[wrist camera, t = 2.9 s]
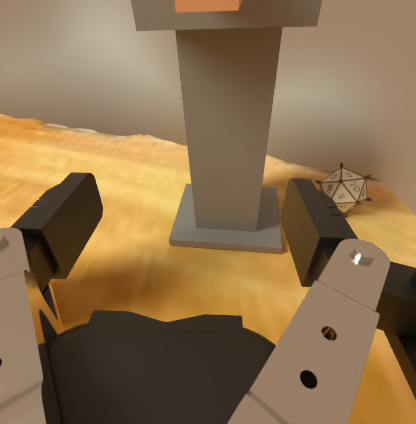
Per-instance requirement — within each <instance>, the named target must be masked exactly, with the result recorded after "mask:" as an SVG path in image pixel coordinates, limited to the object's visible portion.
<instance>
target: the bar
mask: <svg viewBox="0 0 416 424" xmlns="http://www.w3.org/2000/svg"><path fill="white" fill-rule="evenodd" d="M241 1H242V0H175V10H176V13H180V12H209V11H238V10H239V7H240V4H241Z"/></svg>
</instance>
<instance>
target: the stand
mask: <svg viewBox="0 0 416 424" xmlns="http://www.w3.org/2000/svg"><path fill="white" fill-rule="evenodd" d="M321 3H322V0H242V1H241V4H240V7H239V10H238V11H209V12H180V13H176V10H175V0H131V4H132V9H133V14H134V20H135V25H136V30H137V31H150V30H175V31H176V40H177V50H178V60H179V69H180V79H181V88H182V98H183V107H184V117H185V126H186V136H187V146H188V155H189V165H190V174H191V184H186V186H185V190H184V193H183V196H182V199H181V202H180V206H179V209H178V212H177V215H176V219H175V222H174V225H173V228H172V232H171V235H170V238H169V242H170V246H182V247H195V248H208V249H222V250H235V251H248V252H261V253H274V254H281V251H282V241H281V231H280V221H279V210H278V200H277V190H276V188H266V187H262V181H263V174H264V166H265V158H266V149H267V142H268V134H269V127H270V119H271V112H272V104H273V96H274V89H275V81H276V73H277V65H278V58H279V50H280V42H281V34H282V27H302V26H303V27H305V26H317V23H318V18H319V13H320V8H321Z"/></svg>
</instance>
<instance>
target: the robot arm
mask: <svg viewBox="0 0 416 424" xmlns="http://www.w3.org/2000/svg"><path fill="white" fill-rule="evenodd" d="M102 214H103V206H102V202H101V198H100V194H99V191H98V187H97V184H96V180H95V177H94V175H93V174H92V173H70V174H69V175H68V176H67V177H66V178H65V179H64V180H63V181H62V182H61V183H60V184H58V185H56V186H54V187H53V188H51V189H49V190H47V191H46V192H45V193H44V194H43V195H42V196H41V197H40V198H39V200H37V201H36V202H35V203H34V204H33V205H32V207H30V208H29V209H28V210H27V211H26V212H25V213H24V214H23V215H22V216H21V217H20V218H19V219H18V220H17V221H16V222H15V223H14V224H13V225H12V226H11V227H10V228H1V229H0V424H347V423H348V420H349V417H350V413H351V410H352V407H353V404H354V400H355V397H356V394H357V390H358V387H359V384H360V380H361V377H362V374H363V370H364V367H365V364H366V360H367V357H368V354H369V350H370V347H371V344H372V340H373V337H374V334H375V330H376V328H377V329H380V330H383V331H384V333H385V335H386V337H387V339H388V341H389V343H390V346H391V348H392V350H393V352H394V354H395V356H396V358H397V361H398V363H399V365H400V367H401V369H402V371H403V373H404V375H405V378H406V380H407V382H408V384H409V386H410V388H411V390H412V393H413V395H414V397H415V399H416V268H414V267H410V266H406V265H402V264H398V263H394V262H390V261H389V258H388V256H387V255H386V254H385V253H384V252H383V251H382V250H381V249H380V248H378V247H377V246H375V245H374V244H371V243H369V242H367V241H364V240H360V239H358V238H357V236H356V235H355V233H354V232H353V230H352V229H351V227H350V225H349V224H348V222H347V221H346V219H345V218H344V216H342V213H341V211H340V210H339V209H338V207H337V205H336V203H335V202H334V200H333V199H332V198H331V197H330V196H328V195H327V194H326V193H324V192H323V191H317V189H316V188H315V186H314V184H313V182H312V181H311V179H300V178H291V179H290V180H289V182H288V186H287V190H286V195H285V199H284V203H283V208H282V215H281V218H282V225H283V228H284V231H285V235H286V238H287V241H288V244H289V247H290V251H291V254H292V257H293V260H294V263H295V267H296V270H297V273H298V276H299V279H300V283H301V286H302V287H311V288H310V290H309V291H308V293H307V295H306V296H305V298H304V300H303V301H302V303H301V305H300V306H299V308H298V310H297V311H296V313H295V315H294V316H293V318H292V320H291V321H290V323H289V325H288V327H287V328H286V330H285V332H284V333H283V335H282V337H281V338H280V340H279V342H278V343H277V345H275V344H274V343H272V342H271V341H269V340H268V339H267V338H265V337H263V336H262V335H260V334H258V333H256V332H254V331H251V330H249V329H246V328H243V326H242V316H234V315H207V314H205V315H200V316H195V317H190V318H185V319H181V320H176V321H171V322H163V321H159V320H156V319H152V318H149V317H146V316H143V315H139V314H136V313H133V312H126V311H99V310H94V311H93V313H92V316H91V318H90V320H89V323H84V324H81V325H78V326H75V327H73V328H70V329H68V330H66V331H64V328H63V325H62V321H61V318H60V314H59V310H58V307H57V303H56V300H55V296H54V292H53V289H52V287H51V285H50V283H49V282H50V280H51V279H66V278H67V276H68V274H69V273H70V271H71V269H72V268H73V266H74V264H75V262H76V261H77V259H78V257H79V256H80V254H81V252H82V250H83V249H84V247H85V245H86V244H87V242H88V240H89V239H90V237H91V235H92V233H93V232H94V230H95V228H96V227H97V225H98V223H99V221H100V220H101V218H102Z"/></svg>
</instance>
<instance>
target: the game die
mask: <svg viewBox="0 0 416 424" xmlns="http://www.w3.org/2000/svg"><path fill="white" fill-rule="evenodd" d="M370 176H371V175H368V176H366V177H363V176H361V175H359V174H357V173H354V172H352V171H350V170H348V169H345V168H343V163H342V162H341V163H340V168H339V169H338V170H336V171H335V172H334V173H332V174H331V175H329V176H328V177H327V178H325V179H324V180H322V181H321V182H320V181H316V183H319V184H320V188H321V191H323V192H324V193H326V194H327V195H328V196H330V197H331V198H332V199H333V200H334V202H335V203H336V205H337V207H338V209H339V210H340V211H341V212H342V213H343V216H344V218H346V217H347V216H346V213H347V212H349V211H350V210H352V209H353V208H355V207H356V206H358V205H361V203H362V202H364V201H365V200H367V201H372V200H371V198H367V185H366V179H368V178H370Z"/></svg>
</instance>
